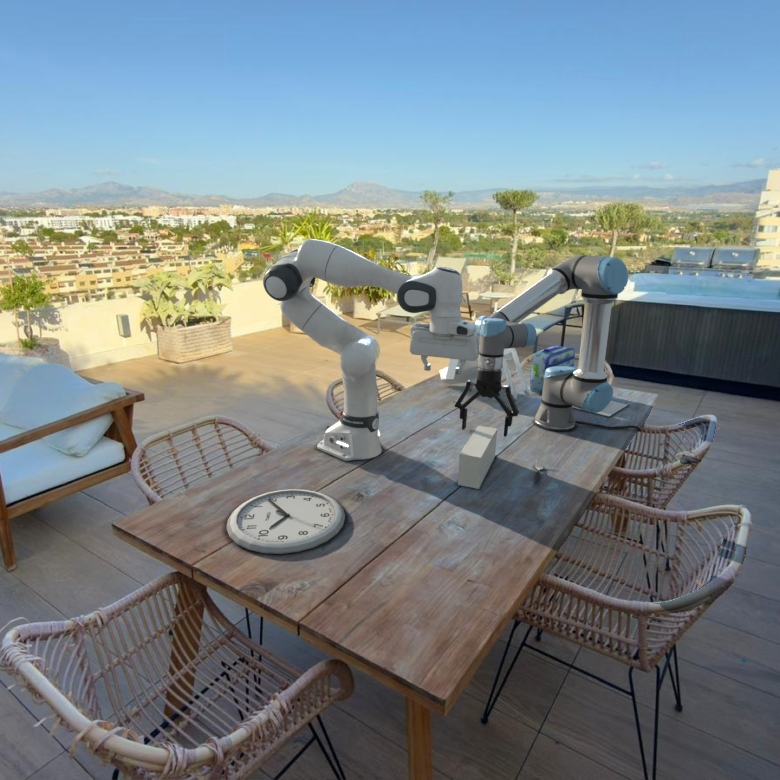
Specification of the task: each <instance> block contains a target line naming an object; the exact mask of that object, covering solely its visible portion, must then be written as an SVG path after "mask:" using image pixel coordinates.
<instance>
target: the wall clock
mask: <svg viewBox="0 0 780 780" xmlns="http://www.w3.org/2000/svg"><path fill="white" fill-rule="evenodd" d="M345 520H346V515H345V511H344V508H343V507H342V505H341V504H340V503H339V502H338V501H337V500H336V499H334V498H333V497H331V496H329V495H327V494H324V493H322V492H319V491H315V490H309V489H298V488H297V489H295V488H292V489H289V488H288V489H280V490H279V489H278V490H274V491H270V492H269V491H268V492H265V493H262V494H260V495H257V496H254V497H252V498H250V499H248V500H246V501H245V502H243V503H241V504H240V505H239V506H237V508H236V509H234V510H233V511H232V512H231V514H230V516H229V517H228V519H227V522H226V531H227V534H228V537H229V538H230V539H231V540H232V541H233V542H234V543H235V544H236V545H238V546H240V547H242V548H244V549H246V550H248V551H253V552H256V553H261V554H271V555H273V554H274V555H281V554H282V555H283V554H291V553H300V552H303V551H306V550H311V549H314V548H316V547H318V546H320V545H322V544H325V543H328V541H330V540H332V538H334V537H335V536H336V535H338V533H339V532H340V531H341V530H342V528H343V527H344V524H345Z"/></svg>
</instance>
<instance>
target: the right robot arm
mask: <svg viewBox="0 0 780 780" xmlns="http://www.w3.org/2000/svg"><path fill="white" fill-rule="evenodd" d="M628 282H629V270H628V267H627V265H626V264H625V262H624V261H623V260H622V259H620V258H618V257H613V256H608V255H605V256H604V255H587V254H580V255H576V256H572V257H570V258H568V259H566V260H564V261H561V262H560V263H558V264H557V265H555V266H554V267H552V268H550V270H548V271H547V272H546V274H545V276H544V277H543V278H541V279H540V280H539V281H538V282H536V283H535V284H533V285H532V286H530V287H529V288H528V289H526V290H525V291H523V292H521V294H519V295H518V296H516V297H515V298H514V299H512V300H511V301H509V302H508V303H506V304H505V305H504V306H502V307H501V308H500V309H498V310H496V312H495V313H494V314H493V313H492V314H491V315H481V316H479V317H477V319H476V320H475V322H474V325H476V327H477V329H476V332H475V333H474V334H476V335H477V337H479V345H480V346H479V359H478V367H479V368H478V371H477V381H476V382H472V381H471V380H468V381H467V383H465V388H464V389H463V391H462V393H461V394H460V396H459V398H458V399H457V401H456V402H455V404H454V408H458V409H459V419H460V420H462V422H461V430H462V431H465V429H467V422H468V421H467V419H468V408H467V407H468V406H469V405H470V404H471V403H472V402H473V401H474V400H475V399H476V398H478V397H479V396H481V397H482V398H489V399H493V398H494V399H495V401H497V403H498V404H499V406H500V408H502V410H503V411H504V413H505V414H506V415H505V418H504V425H503V426H504V428H503V437H505V438H506V437H507V435H508V432H509V427H511V426H512V424H513V417H518V416H519V414H520V411H519V408H518V405H517V403H516V401H515V397H514V396H513V395H512V393H511V386H510V385H508V384H507V385H503V384H502V374H503V371H502V370H503V367H502V365H503V355H504V349H508V348H515V349H516V348H517V349H519V348H526V347H527V348H528V347H531V346H533V345H534V344H535V342H536V340H537V335H538V334H537V333H538V332H537V330H536V326H534V324H532V323H529V322H521V321H523V320H525V319H526V318H527V317H528V316H530V315H531V314H533V313H534V312H536V311H537V310H538V309H540V308H541V307H543V306H544V305H546V304H547V303H548V302H549V301H552V299H553V298H555V297H556V296H557V295H564V294H565V293H567V292H568V291H570V290H581V295H580V297H581V299H582V300H583V301H584V310H583V320H582V328H581V337H580V338H581V339H580V347H579V355H578V356H579V357H578V365H577V367H575V366H574V367H569V366H555V367H549V368H547V369H546V370H545V374H544V379H543V391H542V393H541V402H540V405H539V407H537V409H536V413H535V417H534V424H535V425H536V426H537V427H539V428H542V429H544V430H549V431H556V432H567V431H572V430H574V429H575V428H576V424H578V425H583V426H591V427H596V428H601V429H608V430H621V429H622V430H624V429H626V430H627V429H636V430H637V432H638V431H639V432H642V431H643V430H642V429H641V427H639V426H637V425H631V424H630V425H615V426H609V425H603V424H598V423H592V422H586V421H579V420H578V421H577V420H576V418H575V417H576V416H575V413H574V407H577V408H580V409H582V410H581V411H584V412H587V413H593V414H596V413H597V412H600V411H602V410H603V409H605V408H606V406H607V405H608V404H609V403H610V401H612V399H613V396H614V389H613V385H611V384H610V383H609V382H608V376H609V375H608V373H607V372H606V371H605V363H606V355H607V347H608V339H609V338H608V337H609V331H610V322H611V315H612V306H613V303H614V302H615V301H617V300H618V298H619V297H618V296H619V294H621V293H622V292H623V291H624V290H625V287H627V285H628ZM473 387H475V389H476V391H475V393H474V394H472V395H471V396H470V397H469V398H468V399H467V400H466V401H465V402H464V403H463V404H462V402H463V400H465V397H466V396H467V394H468V393H469V391H470V389H472V388H473ZM501 391H502V392H503V393H504V394H505V396H506V398H507V401H508V404H509V405H510V406H509V405H508V404H507V402H506V400H505V399H504V398H503V396H502V394H501V393H500V392H501ZM580 409H579V410H580Z"/></svg>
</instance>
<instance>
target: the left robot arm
mask: <svg viewBox="0 0 780 780" xmlns="http://www.w3.org/2000/svg"><path fill="white" fill-rule="evenodd" d="M316 279H319V280H321V281H323V282H326V283H328V284H331V285H334V286H338V287H341V288H342V287H343V288H349V289H350V288H359V287H375V288H379V289H381V290H385V291H387V292H390V293H393V294H396V299H397V303H398V305H399V306H400V308H401V309H402V310H403V311H405V312H407V313H410V314H419V313H424V312H425V313H426V312H429V323H420V322H416V323H414V324H412V325H411V327H410V336H411V338H410V342H409V352H410V354H411V355H413V356H420V360H421V362H422V364H423V366H424V368H423V370H424V371H427V372H430V371H431V367H432V364H431V363H429V362H428V357H432V358H441V359H449V360H450V359H459V360H460V363H462V364H461V365H460V367H457V368H455V371H456V372H455V374H459V375H460V374H461V372H462V367H463V366H464V364H465V363H466V360H468V361H475V360H476V359H477V358H478V356H479V345H480V340H479V338H478V337H479V336H478V335H477V334H476V333H475V332H476V329H477V327H476V325H475V323H471V322H469V321H466V320H464V319H462V312H461V305H462V302H463V277H462V274H461V273H460V272H459V271H458V270H457V269H454V268H450V267H443V266H436V267H434V269H432V270H431V271H429V272H427V273H425V274H415V275H410V274H406V273H403V272H400V271H397V270H393V269H391V268H388V267H385V266H383V265H380V264H378V263H376V262H373V261H372V260H369V259H367V258H366V257H364V256H362V255H360V254H358V253H356V252H354V251H352V250H350V249H348V248H346V247H344V246H342V245H338V244H337V243H336V244H335V243H333V242H330V241H326V240H321V239H314V238H308V239H305V240H303V241H302V243H301V244H300V245H299V247H298V248H297V249H294V250H291V251H290V252H289V253H288V254H286V255H284V256H282V257H281V258H279V259H278V260H277V262H275V264H273V266H271V267H269V268H268V269H267V271H266V272H265V274H264V276H263V279H262V285H263V288H264V291H265V292H266V294H267V295H268V296H269V297H270V298H271V299H273V300H275V301H278V302H280V304H279V305H280V306H279V307H280V310H281V312H282V313H283V315H284V316H285V317H286V318H287V319H288V321H290V322H291V323H292V324H293V325H294V326H295V327H296V328H297V329H299V330H300V331H301V332H303V333H304V334H305V335H306V336H307V337H309V338H310V339H311V340H313V341H314V342H315V343H317V344H318V345H319V346H321V347H322V348H326V349H328V350H330V351H332V352H334V353H336V354H338V355H340V357H339V365H340V372H341V379H342V385H343V409H342V410H341V411H340V412H338V413H337V417H338V418H339V417H340V419H339V420H337V421H336V422H335V423H333V424H332V425H331V426H330V425H327V426H326V430H325V432H324V435H323V439H321V441H319V442H318V443H317V445H316V449H317V450H318V451H321V452H323V453H326V454H328V455H331V456H333V457H335V458H337V459H339V460H341V461H345V462H351V461H356V460H369V459H373V458H376V457H378V456H379V455H381V454H382V452H383V449H382V445H381V443H380V436H381V433H380V431H379V425H380V424H379V422H380V415H379V414H380V412H379V410H378V404H379V403H378V397H379V396H378V395H379V394H378V393H379V392H378V391H379V389H378V383H377V362H378V360H379V358H380V355H381V347H380V344H379V342H378V340H377V338H376V337H374V336H373V335H371V334H369V333H367V332H365V331H364V330H362V329H361V328H359V327H357V326H356V325H354V324H352V323H351V322H349V321H348V320H345V319H344V318H342V317H341V316H340V315H339V314H337V313H336V312H335V311H333V309H331V308H330V307H328V306H327V304H325V303H323V301H321V300H319V299H318V298H317V297H316V296H314V294H313V293H312V291H311V288H312V287H314V286H315V283H316Z"/></svg>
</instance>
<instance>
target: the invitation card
mask: <svg viewBox="0 0 780 780" xmlns="http://www.w3.org/2000/svg"><path fill="white" fill-rule="evenodd" d="M628 406H629V404H627V403H623V402H618V401H614V400H611V401H610V403H609V404H608V405H607V406H606V408H605V409H603V410H602V411H600V412H597V413H595V414H596V415H600V416H604V417H608V418H609V417H611V416H613V415H614V414H616V413H617V412H619V411H621V410H623V409H624V408H626V407H628ZM573 409H575V410H581V411H583V410H582V409H580V408H577V407H575V406H573Z"/></svg>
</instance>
